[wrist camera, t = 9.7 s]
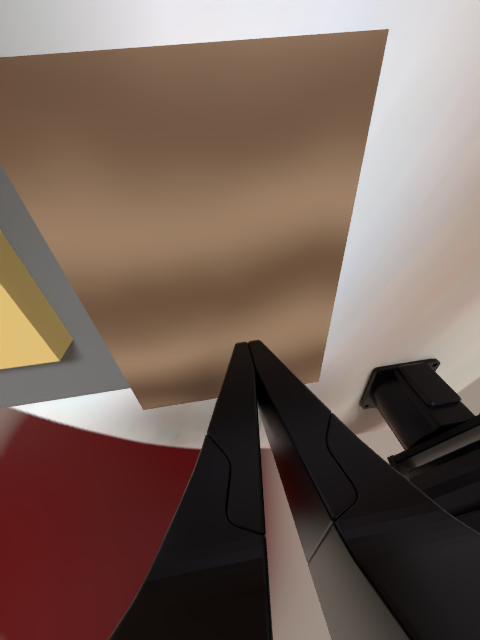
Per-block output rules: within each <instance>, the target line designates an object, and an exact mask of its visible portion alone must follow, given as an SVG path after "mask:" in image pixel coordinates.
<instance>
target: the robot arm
mask: <svg viewBox="0 0 480 640" xmlns="http://www.w3.org/2000/svg"><path fill="white" fill-rule="evenodd" d="M439 365H440V362H439V361H438V360H437V359H428V360H422V361H416V362H410V363H404V364H397V365H391V366H385V367H379V368H377V369H375V370H374V372H373V374H372V377H371V379H370V382H369V384H368V387H367V389H366V392H365V394H364V397H363V399H362V401H361V404H360V405H361V406H362V408H363V409H367V408H373V407H377V408H378V410H379V412H380V413H381V415H382V416H383V418H384V419H385V421H386V422H387V424H388V425H389V427H390V428H391V430H392V431H393V433H394V434H395V436H396V438H397V439H398V441H399V442H400V444H401V445H402V447H403V448H404V450H405V451H403V452H401V453H399V454H397V455H395V456H394V455H392V456H390V457H388V458H387V459H388V461H389V463H390V465H389V464H388V463H387V462H386V461H385V460H383V459H382V458H381V457H380V456H379V455H377V454H376V453H375V452H374V451H373V450H372V449H371V448H369V447H368V446H367V445H366V444H365V443H364V442H362V441H361V440H360V439H359V438H358V437H357V436H356V435H355V434H354V433H353V432H352V431H351V430H350V429H349V428H348V427H347V426H345V425H344V424H343V423H342V422H341V421H340V420H339V419H338V418H337V417H336V416H335V415H334V414H333V413H331V411H330V410H329V409H328V408H327V407H326V406H325V405H324V404H323V403H322V402H321V401H320V400H319V399H318V398H317V397H316V396H315V395H314V394H313V393H312V392H311V391H310V390H309V389H308V388H307V387H306V386H305V385H304V384H303V383H302V382H301V381H300V380H299V379H298V378H297V377H296V376H295V375H294V374H293V373H292V372H291V371H290V369H289V368H288V367H287V366H286V365H285V364H284V363H283V362H282V361H281V360H280V359H279V358H278V357H277V356H276V355H275V354H274V353H273V352H272V351H271V350H270V349H269V348H268V347H267V346H266V345H265V344H264V343H263V342H262V341H261V340H253V341H249V342H248V343H247V342H240V343H236V344H235V346H234V349H233V352H232V355H231V358H230V362H229V365H228V368H227V371H226V374H225V377H224V380H223V383H222V387H221V390H220V393H219V396H218V399H217V402H216V405H215V408H214V411H213V415H212V418H211V421H210V424H209V427H208V430H207V435H206V436H205V439H204V442H203V445H202V448H201V452H200V454H199V457H198V460H197V463H196V465H195V468H194V471H193V473H192V476H191V478H190V481H189V483H188V485H187V488H186V490H185V492H184V495H183V497H182V499H181V501H180V504H179V506H178V508H177V510H176V513H175V515H174V517H173V519H172V521H171V524H170V526H169V528H168V530H167V533H166V535H165V537H164V539H163V542H162V544H161V546H160V548H159V550H158V553H157V555H156V557H155V559H154V561H153V564H152V566H151V568H150V570H149V572H148V574H147V576H146V578H145V580H144V582H143V584H142V585H141V587H140V589H139V591H138V593H137V595H136V596H135V598H134V600H133V602H132V604H131V605H130V607H129V608H128V610H127V611H126V613H125V615H124V616H123V618H122V619H121V621H120V622H119V624H118V625H117V627H116V628H115V630H114V631H113V633H112V635H111V636H110V638H109V639H108V640H273V634H272V620H271V606H270V591H269V576H268V561H267V545H266V530H265V515H264V499H263V484H262V469H261V453H260V437H259V422H258V408H259V412H260V415H261V418H262V421H263V424H264V428H265V431H266V434H267V437H268V440H269V443H270V447H271V450H272V453H273V456H274V459H275V462H276V465H277V469H278V472H279V475H280V478H281V481H282V484H283V487H284V491H285V494H286V497H287V500H288V503H289V506H290V510H291V513H292V516H293V519H294V522H295V525H296V529H297V532H298V535H299V538H300V541H301V544H302V547H303V550H304V553H305V557H306V560H307V562H308V567H309V570H310V573H311V576H312V579H313V582H314V586H315V589H316V592H317V595H318V598H319V601H320V604H321V608H322V611H323V614H324V617H325V620H326V623H327V626H328V630H329V633H330V636H331V639H332V640H480V414H479V415H477V416H475V415H474V414H473V413H472V412H471V411H470V410H469V409H468V408H467V407H466V406H465V405H464V404H463V403H462V402H461V398H460V396H459V395H458V394H457V393H456V392H455V391H454V390H453V389H452V388H451V387H450V386H449V385H448V384H447V383H446V382H445V381H444V380H443V379H442V378H441V377H440V376H439V375H438V374H437V373H436V372H435V371H436V369H437V368H438V366H439ZM257 405H258V406H257Z"/></svg>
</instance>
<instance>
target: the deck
mask: <svg viewBox="0 0 480 640" xmlns="http://www.w3.org/2000/svg"><path fill="white" fill-rule="evenodd" d="M388 30H389V29H385V30H371V31H357V32H344V33H330V34H317V35H303V36H289V37H276V38H262V39H248V40H235V41H221V42H208V43H194V44H180V45H167V46H153V47H140V48H126V49H112V50H99V51H85V52H72V53H58V54H44V55H31V56H17V57H3V58H0V164H1V165H2V167H3V169H4V170H5V172H6V174H7V176H8V177H9V179H10V181H11V182H12V184H13V186H14V188H15V189H16V191H17V193H18V195H19V196H20V198H21V200H22V201H23V203H24V205H25V207H26V208H27V210H28V212H29V213H30V215H31V217H32V219H33V220H34V222H35V224H36V226H37V227H38V229H39V231H40V232H41V234H42V236H43V238H44V239H45V241H46V243H47V244H48V246H49V248H50V250H51V251H52V253H53V255H54V257H55V258H56V260H57V262H58V263H59V265H60V267H61V269H62V270H63V272H64V274H65V275H66V277H67V279H68V281H69V282H70V284H71V286H72V288H73V289H74V291H75V293H76V294H77V296H78V298H79V300H80V301H81V303H82V305H83V306H84V308H85V310H86V312H87V313H88V315H89V317H90V319H91V320H92V322H93V324H94V325H95V327H96V329H97V331H98V332H99V334H100V336H101V337H102V339H103V341H104V343H105V344H106V346H107V348H108V350H109V351H110V353H111V355H112V356H113V358H114V360H115V362H116V363H117V365H118V367H119V368H120V370H121V372H122V374H123V375H124V377H125V379H126V381H127V382H128V384H129V386H130V387H131V389H132V391H133V393H134V394H135V396H136V398H137V399H138V401H139V403H140V405H141V406H142V408H143V410H146V409H152V408H158V407H164V406H171V405H177V404H183V403H189V402H195V401H201V400H208V399H214V398H218V396H219V393H220V390H221V387H222V383H223V380H224V377H225V374H226V371H227V368H228V365H229V362H230V358H231V355H232V352H233V349H234V346H235V344H236V343H240V342H247V343H248V342H249V341H253V340H261V341H262V342H263V343H264V344H265V345H266V346H267V347H268V348H269V349H270V350H271V351H272V352H273V353H274V354H275V355H276V356H277V357H278V358H279V359H280V360H281V361H282V362H283V363H284V364H285V365H286V366H287V367H288V368H289V369H290V371H291V372H292V373H293V374H294V375H295V376H296V377H297V378H298V379H299V380H300V381H301V382H302V383H303V384H306V383H313V382H318V381H319V376H320V371H321V366H322V361H323V356H324V351H325V346H326V341H327V336H328V331H329V326H330V321H331V316H332V311H333V306H334V301H335V296H336V291H337V286H338V281H339V276H340V271H341V266H342V261H343V256H344V251H345V246H346V241H347V236H348V231H349V226H350V221H351V216H352V211H353V206H354V201H355V196H356V191H357V186H358V181H359V176H360V171H361V166H362V161H363V156H364V151H365V146H366V141H367V136H368V131H369V126H370V121H371V116H372V111H373V106H374V101H375V96H376V91H377V86H378V81H379V76H380V71H381V66H382V61H383V56H384V51H385V46H386V41H387V36H388Z"/></svg>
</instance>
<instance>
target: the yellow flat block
mask: <svg viewBox="0 0 480 640" xmlns="http://www.w3.org/2000/svg"><path fill="white" fill-rule="evenodd" d="M72 341H73V338H72V337H71V335H70V334H69V332H68V331H67V329H66V328H65V326H64V325H63V323H62V322H61V320H60V319H59V317H58V316H57V314H56V313H55V311H54V310H53V308H52V307H51V305H50V304H49V302H48V300H47V299H46V297H45V296H44V294H43V293H42V291H41V290H40V288H39V287H38V285H37V284H36V282H35V281H34V279H33V278H32V276H31V275H30V273H29V272H28V270H27V269H26V267H25V266H24V264H23V263H22V261H21V260H20V258H19V257H18V255H17V254H16V252H15V251H14V249H13V248H12V246H11V245H10V243H9V242H8V240H7V239H6V237H5V236H4V234H3V233H2V231H1V230H0V369H6V368H13V367H21V366H28V365H35V364H42V363H49V362H57V361H60V360H61V358H62V357H63V355H64V353H65V352H66V350H67V349H68V347H69V345H70V344H71V342H72Z"/></svg>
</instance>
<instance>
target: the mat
mask: <svg viewBox="0 0 480 640" xmlns="http://www.w3.org/2000/svg"><path fill="white" fill-rule="evenodd" d="M0 230H1V231H2V233H3V234H4V236H5V237H6V239H7V240H8V242H9V243H10V245H11V246H12V248H13V249H14V251H15V252H16V254H17V255H18V257H19V258H20V260H21V261H22V263H23V264H24V266H25V267H26V269H27V270H28V272H29V273H30V275H31V276H32V278H33V279H34V281H35V282H36V284H37V285H38V287H39V288H40V290H41V291H42V293H43V294H44V296H45V297H46V299H47V300H48V302H49V304H50V305H51V307H52V308H53V310H54V311H55V313H56V314H57V316H58V317H59V319H60V320H61V322H62V323H63V325H64V326H65V328H66V329H67V331H68V332H69V334H70V335H71V337H72V338H73V341H72V342H71V344H70V345H69V347H68V349H67V350H66V352H65V353H64V355H63V357H62V358H61V360H60V361H57V362H49V363H42V364H35V365H28V366H21V367H13V368H6V369H0V408H5V407H12V406H18V405H25V404H31V403H37V402H44V401H50V400H57V399H63V398H69V397H76V396H82V395H89V394H95V393H101V392H108V391H114V390H121V389H127V388H131V387H130V386H129V384H128V382H127V381H126V379H125V377H124V375H123V374H122V372H121V370H120V368H119V367H118V365H117V363H116V362H115V360H114V358H113V356H112V355H111V353H110V351H109V350H108V348H107V346H106V344H105V343H104V341H103V339H102V337H101V336H100V334H99V332H98V331H97V329H96V327H95V325H94V324H93V322H92V320H91V319H90V317H89V315H88V313H87V312H86V310H85V308H84V306H83V305H82V303H81V301H80V300H79V298H78V296H77V294H76V293H75V291H74V289H73V288H72V286H71V284H70V282H69V281H68V279H67V277H66V275H65V274H64V272H63V270H62V269H61V267H60V265H59V263H58V262H57V260H56V258H55V257H54V255H53V253H52V251H51V250H50V248H49V246H48V244H47V243H46V241H45V239H44V238H43V236H42V234H41V232H40V231H39V229H38V227H37V226H36V224H35V222H34V220H33V219H32V217H31V215H30V213H29V212H28V210H27V208H26V207H25V205H24V203H23V201H22V200H21V198H20V196H19V195H18V193H17V191H16V189H15V188H14V186H13V184H12V182H11V181H10V179H9V177H8V176H7V174H6V172H5V170H4V169H3V167H2V165H1V164H0Z"/></svg>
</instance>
